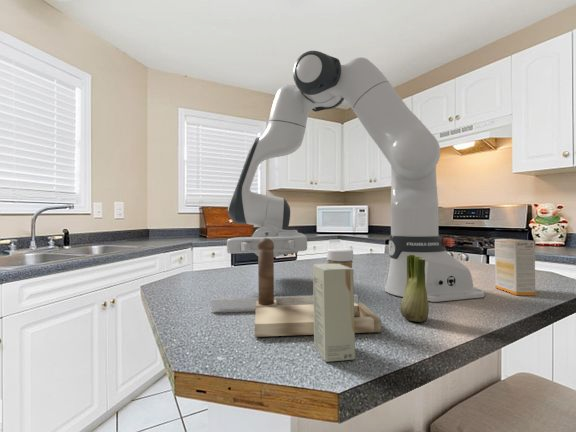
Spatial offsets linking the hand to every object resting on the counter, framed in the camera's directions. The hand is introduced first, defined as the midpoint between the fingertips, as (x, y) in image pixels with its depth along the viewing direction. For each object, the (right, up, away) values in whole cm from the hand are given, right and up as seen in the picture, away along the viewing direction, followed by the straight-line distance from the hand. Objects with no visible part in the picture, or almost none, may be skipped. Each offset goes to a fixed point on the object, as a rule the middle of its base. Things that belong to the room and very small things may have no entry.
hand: (267, 246), depth 74 cm
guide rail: (+4, -12, -8) cm, 15 cm away
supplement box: (+61, -12, +5) cm, 63 cm away
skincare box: (+11, -12, -29) cm, 33 cm away
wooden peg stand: (+9, -12, -16) cm, 22 cm away
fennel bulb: (+28, -12, -16) cm, 34 cm away
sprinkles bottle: (+14, -12, -18) cm, 26 cm away
